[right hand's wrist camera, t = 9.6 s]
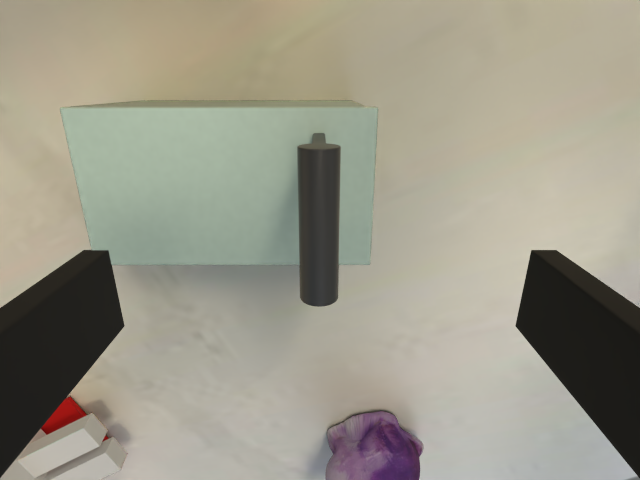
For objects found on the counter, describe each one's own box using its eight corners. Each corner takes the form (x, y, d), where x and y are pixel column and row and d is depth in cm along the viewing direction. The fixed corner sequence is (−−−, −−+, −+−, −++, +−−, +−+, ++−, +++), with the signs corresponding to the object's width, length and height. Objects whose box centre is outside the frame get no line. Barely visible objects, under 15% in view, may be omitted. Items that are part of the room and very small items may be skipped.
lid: (376, 106, 23) (404, 116, 16) (368, 260, 27) (388, 329, 19) (67, 106, 23) (-57, 116, 16) (101, 260, 27) (13, 329, 19)
